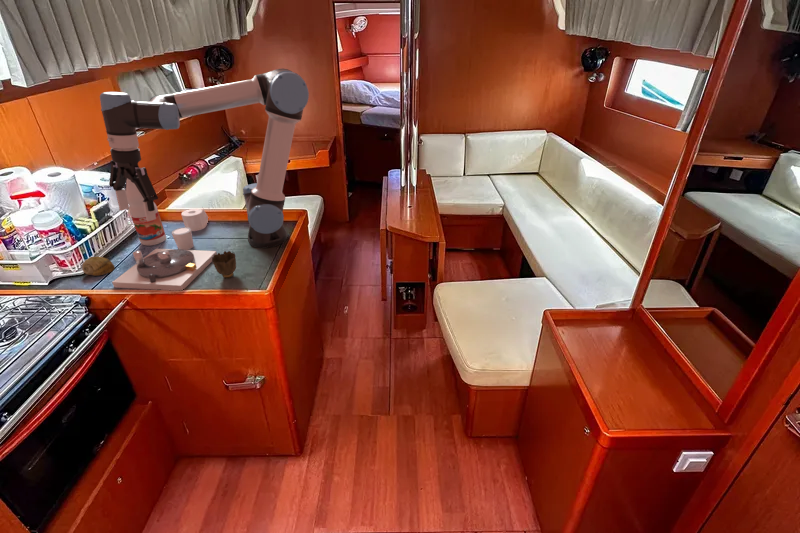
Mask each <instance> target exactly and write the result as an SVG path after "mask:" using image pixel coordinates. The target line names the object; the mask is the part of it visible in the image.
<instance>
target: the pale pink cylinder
mask: <svg viewBox="0 0 800 533" xmlns="http://www.w3.org/2000/svg"><path fill="white" fill-rule="evenodd" d="M171 235H172V237H173V240H174V242H175V244H176V246H177V249H182V250H192V248H194V247H195V246H194V240H193V235H192V231H191V229H190V228H187V227H185V226H184V227H178V228H175V229H174V230H172V231H171Z"/></svg>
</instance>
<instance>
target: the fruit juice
mask: <svg viewBox="0 0 800 533" xmlns="http://www.w3.org/2000/svg"><path fill="white" fill-rule="evenodd" d="M125 185H126V186H125V190H126V195H127V200H128V205H129V209H128V212H129V214H130V216H131V221H132V223H133V225H134V229H135V231H136V234H137V237H138V240H139V242H140V243H141V245H143V246H147V247H149V246H156V245H159V244H162V243H164V242H165V241H166V239H167V235H166V231H165V229H164V226H163V223H162V220H161V216H160V212H159V210H158V206H157V204H156V203H155V202H154V208H155V215H156V219H155V220H151V221H147V220H146V215H145V209H144V204H143V200H144V198H143V197H142V195H141V193H140V192H139V190H138V189H137V187H136V185H135V184H134V183H133V182H131V180H129V179H128V178H127V180H126V182H125Z"/></svg>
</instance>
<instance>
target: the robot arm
mask: <svg viewBox="0 0 800 533" xmlns="http://www.w3.org/2000/svg"><path fill="white" fill-rule="evenodd" d="M309 97H310V93H309V88H308V86H307V83H306V81H305V80H304V79H303V78H302V76H301V75H300V74H298V73H297V72H295V71H292V70H290V69H288V68H276V69H273V70H270V71H267V72H264V73H259V74H255V75H254V76H253V78H251V79H246V80H241V81H240V80H239V81H235V82H229V83H224V84H217V85H213V86H207V87H202V88H196V89H190V90H185V91H180V92H175V93H169V94H157V95H153V97H151V98H150V99H149V101H136V100H132V99H131V96H130V94H129V93H127V92H120V91H104V92H101V93H100V95H99V101H100V108H101V109H100V111H101V114H102V117H103V122H104V126H105V132H106V135H107V136H106V137H107V139H106V140H107V142H108V146H109V148H110V149H109V150H110V155H111V156H110V157H111V160H110V161H109V162H110V172H109V174H110V175H109V183H108V184H109V187H110V188H113V190H114V191H115V195H116V200H117V205H118V210H119V211H124V210H129V204H128V200H127V195H126V188H125V185H126V182H127V178H128V179H129V180H131V182H133V183H134V184H135V185H136V187H137V189H138V190H139V192H140V193H141V195H142V197H143V198H144V200H143V204H144V209H145V215H146V220H147V221H151V220H155V219H156V215H155V208H154V203H155V202H154V201H156V200H158V199H159V197H158V194H157V192H156V190H155V188H154V186H153V184H152V181H151V179H150V177H149V174H148V171H147V168H146V167H140V166H139V162H141V161H142V156H141V151H140V148H139V147H140V144H139V138H138V134H137V129H149V130H150V129H154V130H155V129H156V130H166V131H168V130H178V129H179V128H180V126H181V120H180V119H182V118H183V119H184V118H187V117H193V116H198V115H201V114H208V113H213V112H218V111H224V110H228V109H234V108H239V107H243V106H249V105H255V104H261V105H263V106H265V107H264V111H265V113H266V114H267V115H268V119H267V125H266V130H265V137H264V142H263V149H262V154H261V161H260V165H259V171H258V177H257V182H255V183H254V182H253V183H251V184H247V185H245V186H243V188H242V192H243V193H242V195H243V198H244V203H245V208H246V214H247V222H248V223H249V227H248V235H247V240H248V244H249V245H250V246H251V247H253V248H258V249H265V248H267V249H268V248H273V247H276V246H280V245H282V244H284V243H285V242H286V241H287V239H288V238H287V237H288V232H287V230H286V228H285V226H284V220H285V218H284V217H285V215H284V212H283V211H284V208H285V202H286V196H285V194H284V192H283V190H284V183H285V179H286V174H287V169H288V165H289V158H290V153H291V148H292V142H293V139H294V133H295V128H296V124H298V123H299V122H301V121H302V119H303V118H302V117H303V112H304V109H305V107H306V106H307V104H308V102H309ZM283 242H284V243H283Z"/></svg>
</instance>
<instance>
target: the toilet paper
mask: <svg viewBox="0 0 800 533" xmlns="http://www.w3.org/2000/svg"><path fill="white" fill-rule="evenodd" d="M181 218H182V222H183V224H184V227H187V228H190V229H191V232H196V231H197V232H198V231H201V230H204V229H206V227H207V226H208V224H207V223H209V222H208V218H209V216H208V214H207V213H206V211H205V209H204V207H203V206H202V209H201V208H190V209H186V210H183V211H182V212H181Z"/></svg>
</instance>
